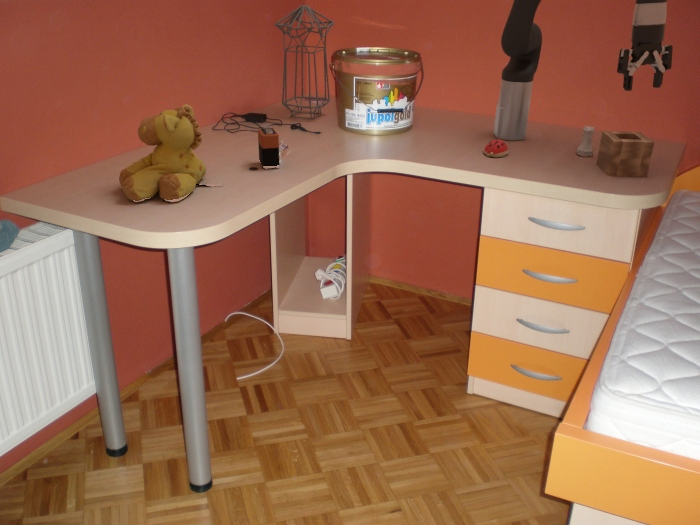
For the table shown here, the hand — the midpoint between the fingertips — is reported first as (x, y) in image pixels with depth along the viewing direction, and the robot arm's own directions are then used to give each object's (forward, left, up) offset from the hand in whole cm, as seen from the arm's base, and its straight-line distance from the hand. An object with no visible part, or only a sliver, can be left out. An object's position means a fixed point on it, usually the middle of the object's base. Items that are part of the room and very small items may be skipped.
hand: (642, 89), depth 170 cm
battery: (-96, -10, -20) cm, 99 cm away
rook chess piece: (-9, +8, -20) cm, 24 cm away
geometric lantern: (-92, +44, -20) cm, 104 cm away
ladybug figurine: (-34, +7, -21) cm, 41 cm away
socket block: (-3, -5, -20) cm, 21 cm away
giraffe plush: (-117, -30, -21) cm, 123 cm away
